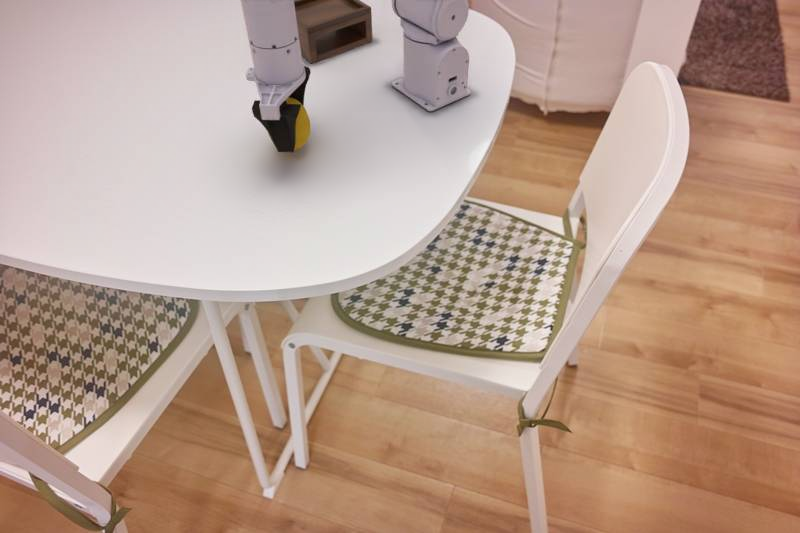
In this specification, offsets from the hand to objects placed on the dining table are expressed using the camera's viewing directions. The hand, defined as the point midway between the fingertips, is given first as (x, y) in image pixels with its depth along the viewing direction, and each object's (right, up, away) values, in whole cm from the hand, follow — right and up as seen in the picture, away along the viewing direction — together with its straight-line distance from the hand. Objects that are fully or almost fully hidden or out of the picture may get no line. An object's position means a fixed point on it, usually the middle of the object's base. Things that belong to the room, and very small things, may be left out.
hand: (290, 136), depth 80 cm
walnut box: (+2, +21, +22) cm, 31 cm away
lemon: (0, -2, +2) cm, 2 cm away
